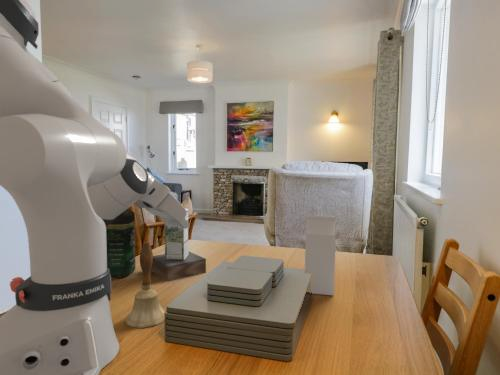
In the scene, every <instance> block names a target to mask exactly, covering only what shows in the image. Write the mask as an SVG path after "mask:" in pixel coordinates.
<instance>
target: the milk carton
mask: <svg viewBox="0 0 500 375" xmlns="http://www.w3.org/2000/svg"><path fill="white" fill-rule="evenodd" d="M336 239H337V238H336V216H332V215H331V216H330V215H329V216H328V215H307V214H306V224H305V251H304V274H305V273H309V274H312V279H311V291H312V295H314V294H315V295H323V296H324V295H326V296H334V295H335V274H336V272H335V269H336V266H335V264H336V241H337V240H336Z"/></svg>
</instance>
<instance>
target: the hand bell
mask: <svg viewBox="0 0 500 375" xmlns="http://www.w3.org/2000/svg"><path fill="white" fill-rule="evenodd" d="M153 254H154V252H153V250H152V248H151V244H150V242H149V241H143V242H142V246H141V248H140V252H139V265H140V269H141V272H142V280H141V290H139V291H137V292H136V293H135V295H134V302H133V307H132V309H131V312H130V313H129V314H127V316H126V318H125V323H126V325H127V326H129V327H132V328H140V329H141V328H142V329H143V328H151V327H154V326H158V325H160V324H162V323H164V322H165V321H164V313H165V311H166V310H164V309H163V307H162V306H161V303H160V300H159V295H158V292H157V291H156V290H155V289H152V288H151V284H152V282H151V272H152V271H151V267H152V262H153V256H154V255H153Z"/></svg>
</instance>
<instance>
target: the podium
mask: <svg viewBox="0 0 500 375" xmlns="http://www.w3.org/2000/svg"><path fill="white" fill-rule="evenodd" d="M188 253H189V254H188V256H187V257H186V259H184V260H165V253H163V254H158V255H153V262H152V267H151V271H150V272H153V273H155V274H156V275H158V276H159V277H161V278H162V279H164V280H166V281H167V282H169V281H173V280H178V279H182V278H186V277H191V276H196V275H200V274H199V273H201V274H204V273H203V272H205V273H206V272H207V259H206V258H205V257H202V256H200V255H197V254H196V253H194V252H191V251H189V250H188ZM195 274H196V275H195Z"/></svg>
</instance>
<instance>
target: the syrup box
mask: <svg viewBox="0 0 500 375" xmlns="http://www.w3.org/2000/svg"><path fill="white" fill-rule="evenodd" d="M184 208H185V209H186V211H187V215H186V217H185V219H186V221H187V222H188V223H189V208H186V207H184ZM188 251H189V227H188V228H187V229H185V228H183V227H182V226H180V224H179V223H178V222H175V221H172V220H169V219H166V218H165V220H164V254H165V260H184V259H186V257H187V256H188V254H189V253H188Z"/></svg>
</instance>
